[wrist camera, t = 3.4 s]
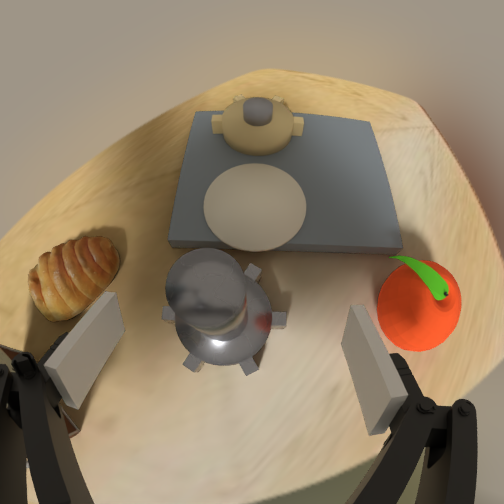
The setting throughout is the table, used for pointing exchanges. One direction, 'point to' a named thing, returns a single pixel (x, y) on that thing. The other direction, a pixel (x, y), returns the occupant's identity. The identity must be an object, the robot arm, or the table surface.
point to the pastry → (72, 276)
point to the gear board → (282, 183)
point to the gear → (219, 309)
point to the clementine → (418, 305)
